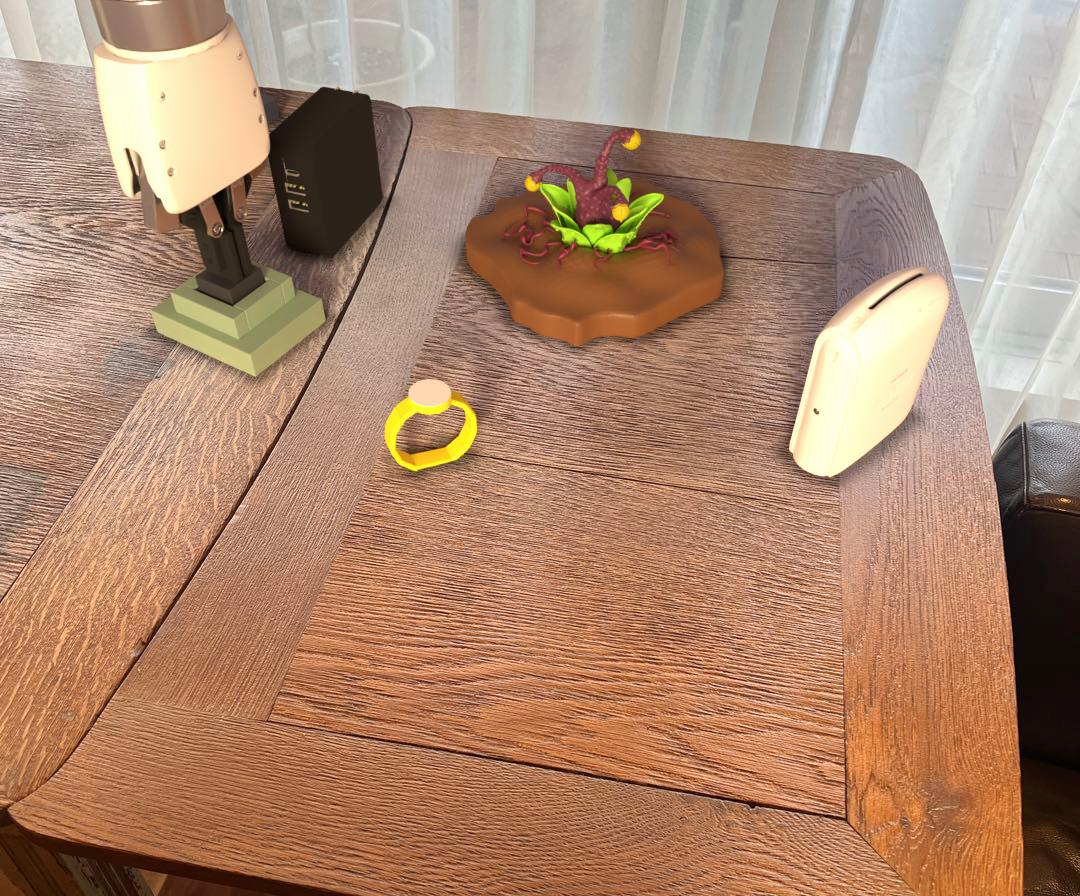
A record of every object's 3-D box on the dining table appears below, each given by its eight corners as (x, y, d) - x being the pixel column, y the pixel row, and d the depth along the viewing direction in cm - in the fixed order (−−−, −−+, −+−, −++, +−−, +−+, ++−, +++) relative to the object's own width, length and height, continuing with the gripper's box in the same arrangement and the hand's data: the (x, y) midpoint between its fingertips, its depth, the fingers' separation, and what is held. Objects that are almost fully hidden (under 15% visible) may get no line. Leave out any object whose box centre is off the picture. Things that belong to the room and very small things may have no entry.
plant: (766, 299, 82) (793, 168, 74) (546, 367, 76) (548, 233, 68) (641, 182, 94) (651, 57, 85) (443, 233, 88) (433, 105, 80)
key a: (199, 294, 76) (194, 276, 75) (231, 271, 78) (227, 253, 77) (233, 308, 75) (229, 290, 74) (265, 285, 77) (261, 267, 76)
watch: (397, 486, 68) (388, 418, 64) (385, 459, 70) (375, 391, 65) (482, 461, 70) (479, 394, 65) (468, 435, 71) (464, 368, 67)
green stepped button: (157, 333, 79) (142, 289, 76) (230, 282, 83) (219, 238, 80) (255, 378, 75) (244, 334, 72) (326, 322, 80) (318, 278, 77)
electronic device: (286, 252, 86) (262, 138, 79) (342, 193, 92) (325, 82, 85) (331, 262, 85) (311, 147, 78) (384, 202, 91) (371, 90, 84)
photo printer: (828, 489, 68) (875, 338, 59) (776, 456, 70) (814, 304, 61) (916, 418, 73) (972, 268, 63) (865, 389, 75) (913, 239, 65)
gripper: (203, -43, 67) (261, 211, 81) (17, 41, 59) (116, 308, 73) (291, -19, 65) (335, 239, 78) (109, 71, 56) (194, 343, 70)
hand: (230, 271), depth 75 cm, fingers closed
